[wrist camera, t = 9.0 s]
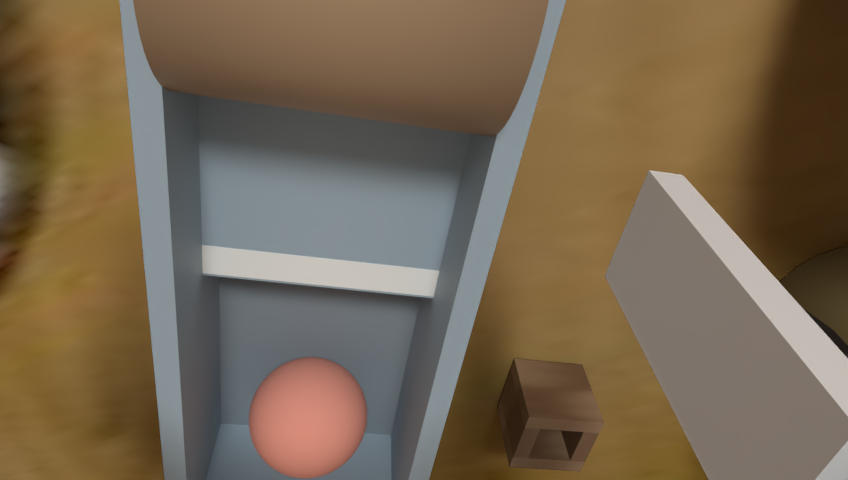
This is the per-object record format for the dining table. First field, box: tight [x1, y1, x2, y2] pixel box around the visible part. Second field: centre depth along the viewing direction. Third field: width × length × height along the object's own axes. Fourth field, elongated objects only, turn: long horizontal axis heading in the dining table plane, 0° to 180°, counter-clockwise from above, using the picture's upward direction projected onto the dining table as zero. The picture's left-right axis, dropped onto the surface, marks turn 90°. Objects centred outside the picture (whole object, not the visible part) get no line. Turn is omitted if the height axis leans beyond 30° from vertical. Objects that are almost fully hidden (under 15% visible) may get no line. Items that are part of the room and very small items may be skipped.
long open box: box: [120, 0, 566, 480], centre depth 21 cm, size 10×27×8 cm, turn 170°
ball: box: [249, 357, 367, 478], centre depth 26 cm, size 5×5×5 cm
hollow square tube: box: [497, 359, 604, 471], centre depth 28 cm, size 3×3×4 cm
